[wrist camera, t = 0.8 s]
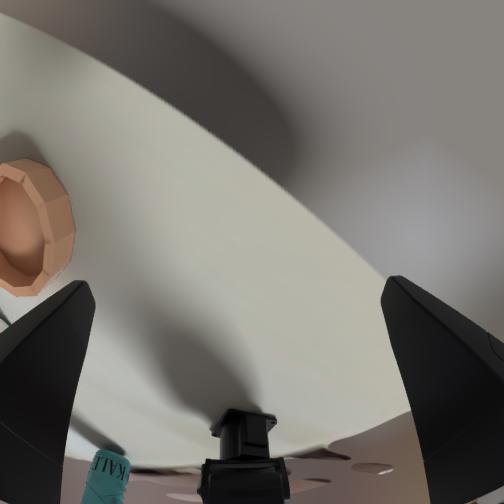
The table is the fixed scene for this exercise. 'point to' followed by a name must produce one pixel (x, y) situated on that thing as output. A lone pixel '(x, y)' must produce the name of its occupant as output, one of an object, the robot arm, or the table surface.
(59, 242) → the bowl
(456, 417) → the robot arm
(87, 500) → the beverage bottle
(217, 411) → the table surface
